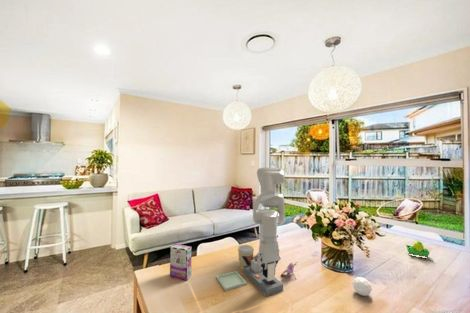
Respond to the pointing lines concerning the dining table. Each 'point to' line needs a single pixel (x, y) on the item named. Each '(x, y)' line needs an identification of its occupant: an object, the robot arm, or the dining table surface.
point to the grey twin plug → (255, 266)
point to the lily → (290, 268)
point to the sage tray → (231, 280)
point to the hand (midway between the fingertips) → (268, 274)
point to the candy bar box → (180, 261)
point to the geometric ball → (362, 286)
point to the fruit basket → (418, 249)
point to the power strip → (263, 282)
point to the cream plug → (270, 271)
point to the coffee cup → (245, 256)
